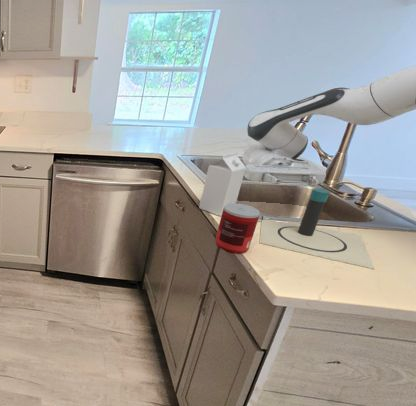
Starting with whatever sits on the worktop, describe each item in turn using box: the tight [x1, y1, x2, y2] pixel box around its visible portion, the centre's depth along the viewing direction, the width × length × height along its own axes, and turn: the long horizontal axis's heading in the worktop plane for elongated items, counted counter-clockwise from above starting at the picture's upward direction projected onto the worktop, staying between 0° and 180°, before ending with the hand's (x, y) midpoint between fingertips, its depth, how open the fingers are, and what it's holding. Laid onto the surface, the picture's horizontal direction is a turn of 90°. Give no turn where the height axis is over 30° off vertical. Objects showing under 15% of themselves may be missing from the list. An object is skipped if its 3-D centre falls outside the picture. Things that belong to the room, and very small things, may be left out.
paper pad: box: [259, 217, 376, 270], centre depth 99 cm, size 22×20×1 cm
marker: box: [298, 187, 331, 236], centre depth 99 cm, size 3×3×13 cm
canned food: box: [214, 202, 261, 254], centre depth 95 cm, size 8×8×11 cm
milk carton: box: [198, 151, 246, 217], centre depth 114 cm, size 7×7×19 cm
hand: (295, 182), depth 108 cm, fingers open, 8 cm apart
